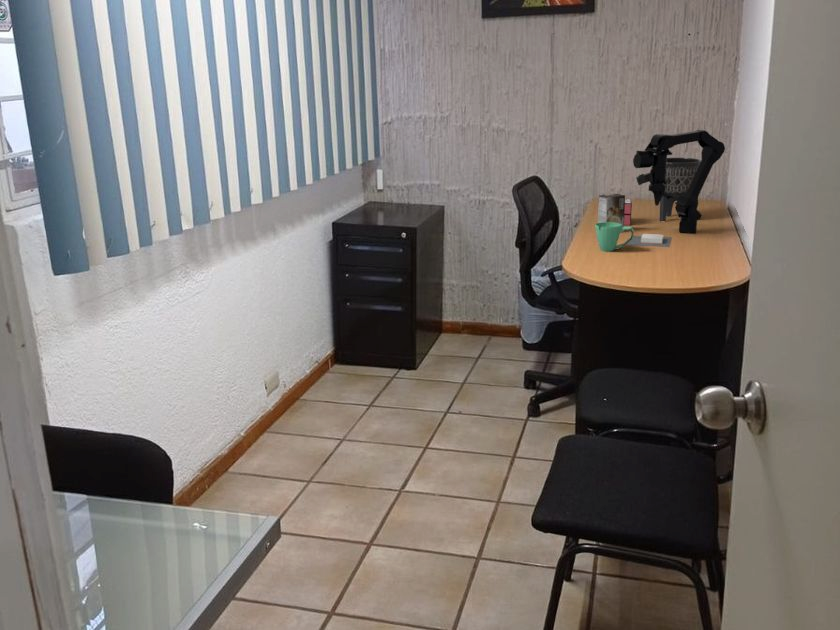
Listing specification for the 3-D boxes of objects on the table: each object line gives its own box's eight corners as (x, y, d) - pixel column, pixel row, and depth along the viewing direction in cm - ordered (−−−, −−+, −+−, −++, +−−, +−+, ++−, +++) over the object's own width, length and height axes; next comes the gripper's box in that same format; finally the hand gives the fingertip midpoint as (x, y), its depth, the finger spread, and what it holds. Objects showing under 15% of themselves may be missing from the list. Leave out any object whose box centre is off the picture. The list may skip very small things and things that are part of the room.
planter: (700, 216, 371) (705, 158, 363) (692, 224, 355) (697, 163, 347) (656, 214, 380) (660, 156, 372) (647, 221, 364) (650, 162, 356)
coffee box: (615, 230, 347) (616, 193, 343) (624, 233, 342) (626, 195, 337) (596, 232, 344) (598, 195, 339) (605, 235, 338) (607, 197, 334)
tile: (663, 234, 325) (662, 238, 318) (663, 239, 326) (661, 243, 319) (642, 233, 328) (641, 237, 320) (642, 238, 328) (640, 242, 321)
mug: (592, 252, 311) (593, 226, 308) (596, 246, 319) (597, 221, 316) (632, 254, 306) (633, 228, 303) (634, 248, 315) (635, 223, 312)
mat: (671, 238, 329) (671, 237, 329) (669, 248, 313) (669, 246, 313) (631, 236, 335) (631, 235, 334) (626, 246, 318) (626, 244, 318)
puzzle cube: (630, 225, 357) (631, 203, 354) (607, 225, 359) (608, 202, 356) (629, 221, 366) (631, 199, 363) (607, 221, 368) (608, 199, 365)
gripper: (640, 163, 337) (638, 201, 341) (636, 169, 320) (634, 208, 324) (668, 163, 333) (665, 201, 338) (665, 169, 316) (663, 209, 321)
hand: (656, 205), depth 330 cm, fingers closed
